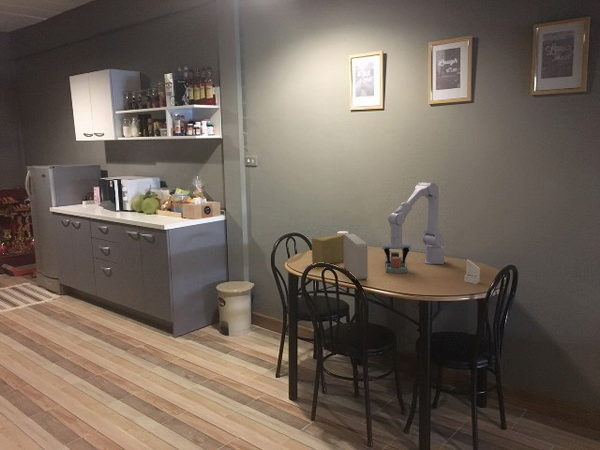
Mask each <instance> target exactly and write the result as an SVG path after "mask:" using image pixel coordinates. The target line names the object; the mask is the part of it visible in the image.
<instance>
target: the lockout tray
mask: <svg viewBox="0 0 600 450" xmlns="http://www.w3.org/2000/svg"><path fill="white" fill-rule="evenodd" d="M407 271H408V269H407V264H406V263H405V264H401V269H397V268H391V264H386V267H385V273H392V274H393V273H394V274H397V273H398V274H399V273H400V274H403V273H405V274H407Z"/></svg>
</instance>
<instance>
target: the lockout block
mask: <svg viewBox="0 0 600 450" xmlns="http://www.w3.org/2000/svg"><path fill="white" fill-rule="evenodd" d="M401 257H402V256H399V257H392V258H391V268H397V269H401Z"/></svg>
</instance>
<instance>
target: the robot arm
mask: <svg viewBox="0 0 600 450" xmlns="http://www.w3.org/2000/svg"><path fill="white" fill-rule="evenodd" d="M421 197H425V198H426V199H427V228H426V229H425V230H424V231H423V236H422V242H423V244H424V246H425V259H424V264H427V265H444V263H445V257H444V256H445V253H444V252H445V249H444V247H445V246H442V245H443V243H444V236H443V232H442V231H441V230H440V229H439V210H440V209H439V205H440V204H439V201H440V194H439V185H438V184H437V183H435V182H425V181H419V182H418V183H417V184H416V185H415V187H414V191H413V192H412V194H411V195H410V196H409V198H408V199H407V200H406V201H404V202H401V203H400V205H399V206H398V207H397V209H395V211H394V212H392V213H390V214H389V216H388V218H387V221H388V224H389V227H390V244H381V250H383V251H384V254H385V258H386V257H387V261H388V263H390V257H391V251H390V250H394V249H395V250H396V249H398V250H399V249H400V250H402V257H403V259H402V261H403V263H405V264H406V259H407V256H408V254H409V252H410V249H412V245H411V244H410V243H408V244H407V243H403V225H404V223H405V221H406V218H407V216H408V215H409V213H410V212H411V211H412V209H413V206H414V204H416V202H417V201H418V200H419V199H420V198H421Z"/></svg>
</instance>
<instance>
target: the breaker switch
mask: <svg viewBox="0 0 600 450" xmlns="http://www.w3.org/2000/svg"><path fill="white" fill-rule="evenodd" d="M390 257H391V258H392V257H400V251H390Z"/></svg>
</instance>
